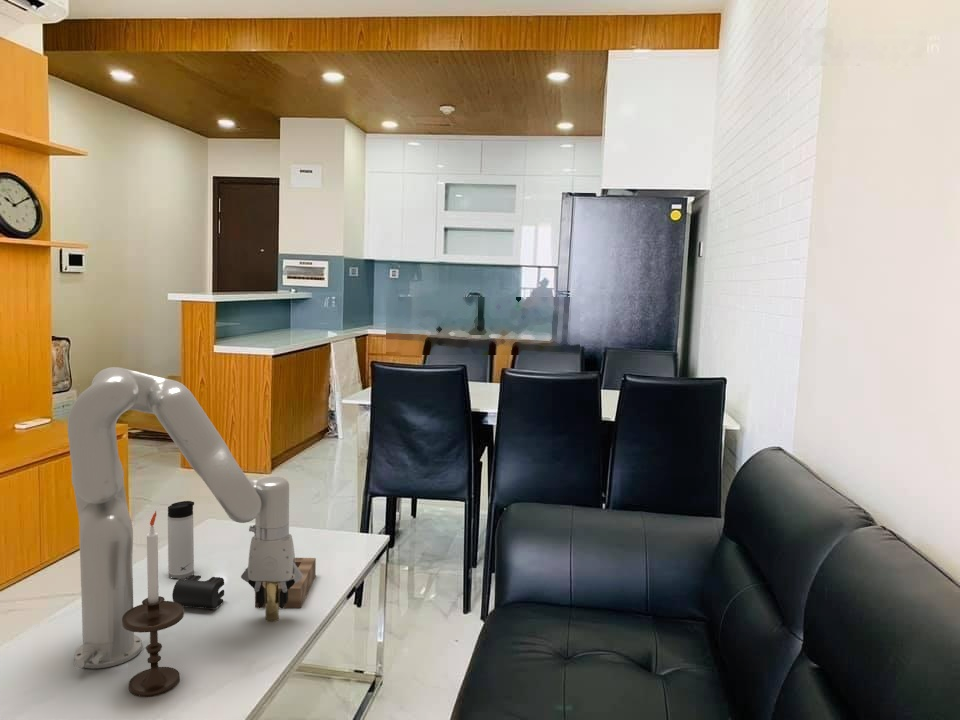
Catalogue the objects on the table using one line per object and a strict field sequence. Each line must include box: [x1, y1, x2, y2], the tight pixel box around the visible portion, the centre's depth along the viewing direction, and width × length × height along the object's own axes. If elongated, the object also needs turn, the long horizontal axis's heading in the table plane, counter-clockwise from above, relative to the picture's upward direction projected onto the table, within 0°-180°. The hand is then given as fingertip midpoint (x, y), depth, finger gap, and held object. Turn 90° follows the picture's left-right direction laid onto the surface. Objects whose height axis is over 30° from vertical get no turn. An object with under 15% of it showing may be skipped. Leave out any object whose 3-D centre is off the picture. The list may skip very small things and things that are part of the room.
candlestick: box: [122, 510, 185, 698], centre depth 134 cm, size 11×11×35 cm
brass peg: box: [264, 582, 280, 623], centre depth 163 cm, size 3×3×11 cm
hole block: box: [254, 557, 317, 609], centre depth 178 cm, size 19×11×5 cm, turn 3°
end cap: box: [172, 574, 225, 610], centre depth 168 cm, size 10×7×7 cm
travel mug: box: [167, 500, 195, 579], centre depth 185 cm, size 6×7×20 cm
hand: (272, 605), depth 163 cm, fingers open, 4 cm apart
